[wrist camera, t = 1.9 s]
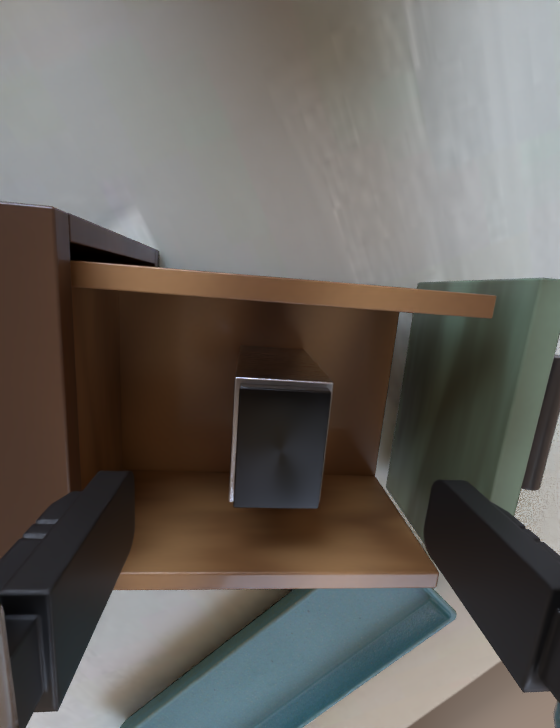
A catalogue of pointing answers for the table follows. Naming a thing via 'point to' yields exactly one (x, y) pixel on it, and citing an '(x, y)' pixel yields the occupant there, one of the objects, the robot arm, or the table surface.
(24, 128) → the table surface
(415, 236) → the table surface
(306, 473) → the brushed metal box
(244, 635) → the shallow long dish
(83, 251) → the cabinet
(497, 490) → the drawer
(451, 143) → the table surface
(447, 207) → the table surface
